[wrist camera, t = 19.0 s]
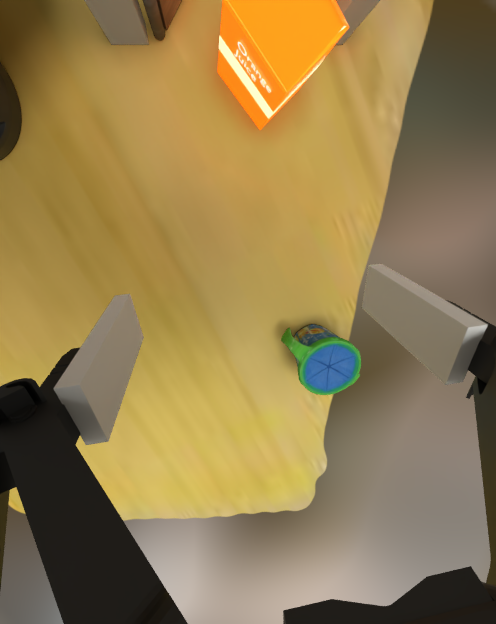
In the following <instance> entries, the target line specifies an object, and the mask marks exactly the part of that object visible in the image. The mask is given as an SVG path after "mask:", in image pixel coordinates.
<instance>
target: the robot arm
mask: <svg viewBox="0 0 496 624" xmlns="http://www.w3.org/2000/svg"><path fill="white" fill-rule="evenodd" d="M20 129H21V109H20V104H19V99H18V96H17V93H16V90H15V87H14V85H13V83H12V81H11V79H10V77H9V75H8V73H7V72H6V70H5V68H4V67H3V65H2V64H1V62H0V160H1V159H3V158H4V157H5V156H6V155H8V154H9V153H10V151H11V150H12V149H13V147H14V146H15V144H16V142H17V140H18V137H19V134H20ZM362 308H363V309H364V310H365V311H366V312H367V313H368V314H369V315H370V316H371V317H372V318H373V319H375V320H376V321H377V322H378V323H379V324H380V325H381V326H382V327H383V328H384V329H385V330H386V331H387V332H389V333H390V334H391V335H392V336H393V337H394V338H395V339H396V340H397V341H398V342H399V343H401V344H402V345H403V346H404V347H405V348H406V349H407V350H408V351H409V352H410V353H411V354H412V355H414V356H415V357H416V358H417V359H418V360H419V361H420V362H421V363H422V364H423V365H424V366H425V367H426V368H428V369H429V370H430V371H431V372H432V373H433V374H434V375H435V376H436V377H437V378H438V379H439V380H441V381H442V382H443V383H444V384H445V385H447V384H454V383H460V382H463V380H464V378H465V376H466V373H467V371H468V370H469V371H470V372H471V373H473V374H474V375H475V376H476V377H475V379H474V381H473V383H472V385H471V387H470V390H469V392H468V394H467V397H466V398H470V397H471V395H474V402H475V411H476V420H477V430H478V440H479V449H480V458H481V468H482V477H483V487H484V496H485V506H486V515H487V525H488V534H489V543H490V553H491V564H490V569H489V573H488V577H487V582H486V583H483V582H481V581H480V580H479V578H478V577H477V575H476V574H475V572H474V571H473V569H472V567H471V566H470V567H466V568H462V569H458V570H453V571H449V572H445V573H441V574H437V575H432V576H428V577H426V578H425V579H424V580H422V581H421V582H420V583H419V584H417V585H416V586H415V587H413V588H412V589H411V590H410V591H408V592H407V593H406V594H405V595H403V596H402V597H401V598H399V599H398V600H397V601H395V602H394V603H393V604H391V605H389V606H377V605H370V604H362V603H355V602H348V601H341V600H334V599H330V600H326V601H322V602H318V603H313V604H309V605H305V606H301V607H297V608H292V609H288V610H284V611H283V613H284V624H496V327H495V326H494V325H492V324H490V323H488V322H486V321H485V320H483V319H481V318H479V317H478V316H476V315H474V314H471V313H470V312H469V311H467V310H465V309H463V308H461V307H460V306H458V305H456V304H455V303H453V302H450V301H447V300H444V299H442V298H440V297H439V296H437V295H435V294H434V293H432V292H430V291H428V290H427V289H425V288H423V287H421V286H420V285H418V284H416V283H414V282H413V281H411V280H409V279H407V278H406V277H404V276H402V275H400V274H399V273H397V272H395V271H393V270H391V269H390V268H388V267H386V266H385V265H383V264H374V265H369V266H368V272H367V279H366V286H365V291H364V298H363V304H362ZM143 338H144V337H143V334H142V330H141V327H140V324H139V321H138V318H137V315H136V311H135V308H134V305H133V302H132V299H131V295H130V294H124V295H116V296H114V298H113V299H112V301H111V302H110V304H109V305H108V307H107V308H106V310H105V311H104V313H103V314H102V316H101V317H100V319H99V320H98V322H97V323H96V325H95V326H94V328H93V329H92V331H91V332H90V334H89V335H88V337H87V339H86V340H85V342H84V343H83V345H82V346H81V348H74V349H71V350H70V351H69V352H67V353H66V354H65V355H64V356H62V357H61V359H60V360H59V361H58V363H57V364H56V366H55V368H53V370H52V371H51V372H50V375H48V377H47V378H46V379H45V381H44V382H43V383H42V385H41V386H40V388H39V386H38V384H37V383H36V381H34V380H33V379H28V378H23V379H18V380H14V381H12V382H9V383H7V384H4V385H2V386H1V387H0V589H1V577H2V566H3V556H4V545H5V534H6V523H7V512H8V501H9V490H10V489H12V488H15V487H17V490H18V493H19V496H20V499H21V501H22V504H23V507H24V510H25V513H26V516H27V519H28V521H29V525H30V527H31V530H32V533H33V536H34V539H35V542H36V545H37V548H38V551H39V553H40V556H41V559H42V562H43V565H44V568H45V571H46V574H47V576H48V579H49V582H50V585H51V588H52V591H53V594H54V597H55V600H56V602H57V606H58V608H59V611H60V614H61V617H62V620H63V623H64V624H187V622H186V620H185V619H184V617H183V615H182V614H181V612H180V611H179V609H178V607H177V606H176V604H175V603H174V601H173V600H172V598H171V596H170V595H169V593H168V592H167V590H166V589H165V588H164V586H163V584H162V582H161V581H160V579H159V578H158V576H157V574H156V573H155V571H154V570H153V568H152V567H151V565H150V563H149V562H148V560H147V559H146V557H145V555H144V554H143V552H142V550H141V549H140V547H139V546H138V544H137V543H136V541H135V539H134V538H133V536H132V535H131V533H130V531H129V530H128V528H127V527H126V525H125V523H124V522H123V520H122V519H121V517H120V515H119V514H118V512H117V511H116V509H115V507H114V506H113V504H112V503H111V501H110V499H109V498H108V496H107V495H106V493H105V491H104V490H103V488H102V487H101V485H100V484H99V482H98V480H97V479H96V477H95V476H94V474H93V472H92V471H91V469H90V468H89V466H88V464H87V463H86V461H85V460H84V458H83V456H82V455H81V453H80V452H79V450H78V448H77V447H76V442H77V440H78V438H79V436H80V435H81V437H82V439H83V441H84V442H85V444H86V445H89V444H95V443H101V442H107V441H109V438H110V435H111V432H112V429H113V426H114V423H115V420H116V417H117V414H118V411H119V409H120V406H121V403H122V400H123V397H124V394H125V391H126V388H127V385H128V382H129V379H130V376H131V373H132V370H133V367H134V364H135V361H136V358H137V356H138V353H139V350H140V347H141V344H142V341H143Z"/></svg>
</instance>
